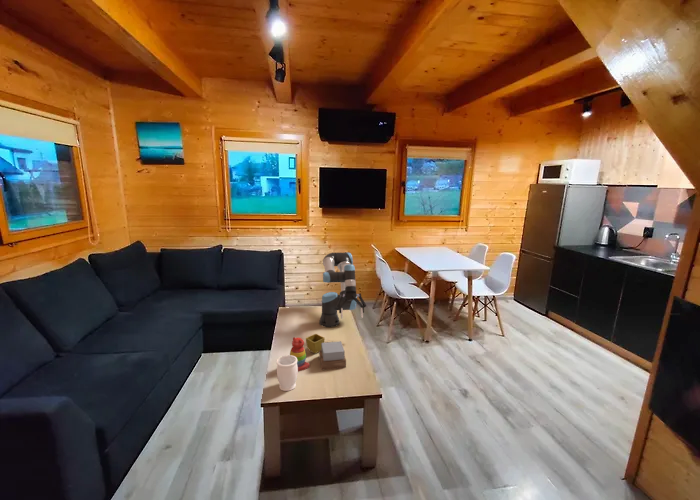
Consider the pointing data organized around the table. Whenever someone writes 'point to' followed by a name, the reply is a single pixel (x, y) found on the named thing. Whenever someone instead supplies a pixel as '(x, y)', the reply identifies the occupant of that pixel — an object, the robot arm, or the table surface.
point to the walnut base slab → (331, 363)
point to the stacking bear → (299, 353)
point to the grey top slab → (332, 351)
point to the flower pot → (314, 342)
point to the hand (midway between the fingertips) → (351, 318)
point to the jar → (287, 372)
